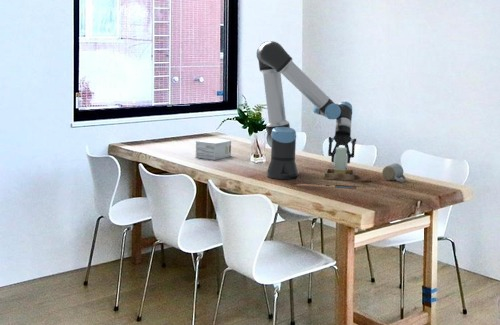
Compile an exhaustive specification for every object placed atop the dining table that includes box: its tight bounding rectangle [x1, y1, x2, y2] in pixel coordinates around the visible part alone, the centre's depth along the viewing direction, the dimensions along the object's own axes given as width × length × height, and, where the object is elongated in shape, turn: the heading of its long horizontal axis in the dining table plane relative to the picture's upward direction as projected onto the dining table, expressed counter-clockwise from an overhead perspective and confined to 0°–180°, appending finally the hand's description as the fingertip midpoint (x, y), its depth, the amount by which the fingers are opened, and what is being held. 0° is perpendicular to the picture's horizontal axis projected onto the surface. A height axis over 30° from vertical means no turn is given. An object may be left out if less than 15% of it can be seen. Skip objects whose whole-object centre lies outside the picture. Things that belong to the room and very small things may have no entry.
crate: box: [323, 168, 356, 181], centre depth 326 cm, size 14×14×4 cm
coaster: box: [334, 184, 356, 190], centre depth 309 cm, size 9×9×1 cm
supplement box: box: [195, 138, 232, 161], centre depth 382 cm, size 17×13×9 cm
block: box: [334, 146, 347, 174], centre depth 325 cm, size 5×5×12 cm
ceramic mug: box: [381, 162, 407, 183], centre depth 325 cm, size 11×8×8 cm
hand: (340, 167), depth 322 cm, fingers closed on block, 5 cm apart
